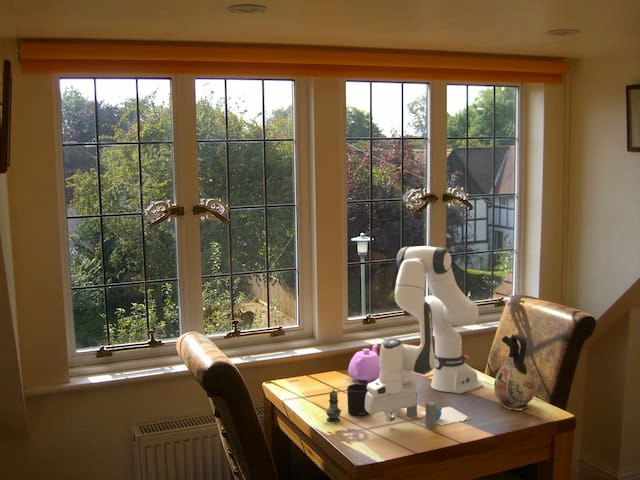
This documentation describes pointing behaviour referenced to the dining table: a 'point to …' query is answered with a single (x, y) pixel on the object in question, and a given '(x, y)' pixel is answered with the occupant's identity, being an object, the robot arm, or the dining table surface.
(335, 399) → the grey chess piece
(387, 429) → the dining table surface
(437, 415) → the ball
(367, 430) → the dining table surface
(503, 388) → the ceramic jug
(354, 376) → the teapot
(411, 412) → the post
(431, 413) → the post
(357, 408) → the pen holder
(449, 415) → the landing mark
